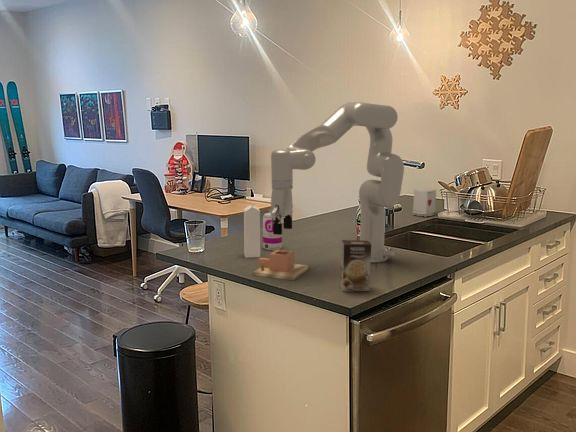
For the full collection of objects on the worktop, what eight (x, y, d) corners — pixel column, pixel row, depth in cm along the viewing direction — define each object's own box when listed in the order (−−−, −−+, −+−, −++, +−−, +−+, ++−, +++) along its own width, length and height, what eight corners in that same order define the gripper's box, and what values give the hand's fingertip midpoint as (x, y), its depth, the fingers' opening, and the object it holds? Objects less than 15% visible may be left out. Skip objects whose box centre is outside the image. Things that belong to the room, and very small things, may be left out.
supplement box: (425, 218, 315) (427, 190, 312) (412, 215, 321) (413, 189, 319) (435, 216, 321) (436, 189, 318) (421, 213, 327) (423, 187, 325)
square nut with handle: (294, 267, 213) (294, 251, 212) (287, 272, 206) (287, 255, 205) (263, 263, 217) (263, 248, 216) (255, 268, 211) (255, 252, 210)
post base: (309, 268, 215) (309, 255, 214) (294, 280, 201) (294, 266, 200) (270, 264, 221) (270, 251, 220) (252, 275, 207) (252, 261, 206)
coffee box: (342, 292, 189) (343, 244, 186) (339, 286, 195) (340, 239, 192) (370, 291, 189) (371, 244, 186) (366, 285, 195) (368, 239, 192)
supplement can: (279, 251, 241) (280, 216, 238) (260, 250, 242) (260, 215, 240) (284, 246, 249) (284, 212, 246) (265, 245, 250) (265, 211, 247)
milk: (258, 253, 237) (258, 200, 233) (260, 257, 231) (260, 203, 227) (243, 254, 236) (243, 201, 232) (245, 257, 230) (245, 203, 226)
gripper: (281, 181, 214) (282, 225, 218) (262, 187, 199) (263, 235, 202) (300, 181, 212) (300, 227, 215) (282, 188, 196) (283, 237, 199)
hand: (282, 231), depth 208 cm, fingers open, 9 cm apart
